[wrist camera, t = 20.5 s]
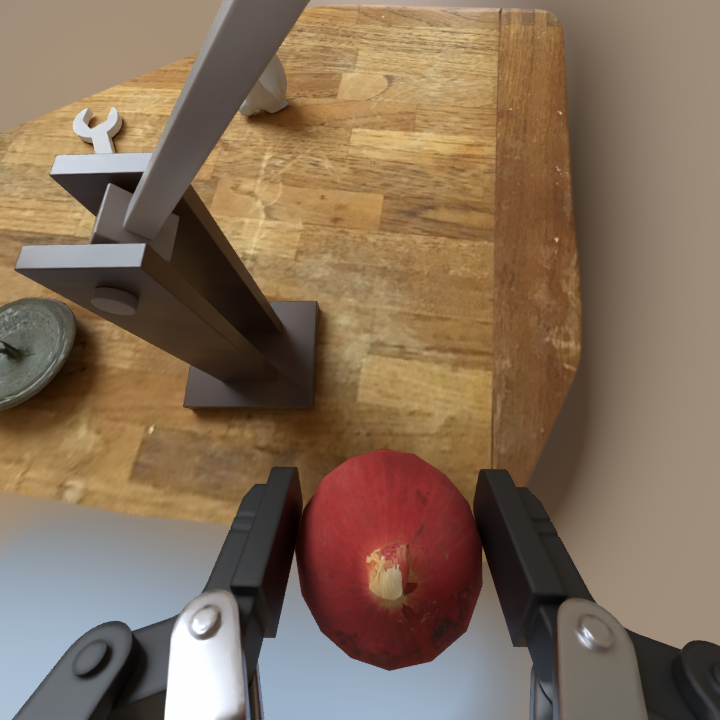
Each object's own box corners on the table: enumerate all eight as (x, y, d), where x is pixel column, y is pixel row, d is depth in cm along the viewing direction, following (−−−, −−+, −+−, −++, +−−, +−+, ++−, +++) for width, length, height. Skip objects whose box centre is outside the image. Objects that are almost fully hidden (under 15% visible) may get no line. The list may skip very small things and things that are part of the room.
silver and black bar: (505, -304, 5) (409, -685, 3) (566, -138, 3) (445, -693, 2) (165, 221, 16) (103, 192, 14) (143, 316, 14) (71, 296, 13)
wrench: (117, 104, 37) (74, 119, 37) (113, 98, 37) (69, 113, 36) (170, 279, 30) (118, 300, 29) (166, 275, 29) (112, 296, 29)
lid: (35, 439, 28) (-18, 440, 23) (-73, 376, 27) (-151, 364, 22) (124, 339, 31) (92, 321, 26) (28, 280, 30) (-22, 251, 25)
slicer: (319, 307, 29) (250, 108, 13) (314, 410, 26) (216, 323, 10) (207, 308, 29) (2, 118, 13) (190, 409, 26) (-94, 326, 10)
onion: (480, 543, 14) (613, 640, 6) (369, 637, 13) (363, 884, 5) (396, 429, 15) (418, 393, 8) (292, 506, 14) (202, 550, 7)
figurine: (305, 119, 35) (287, 27, 28) (256, 141, 35) (224, 53, 27) (274, 76, 38) (249, -19, 30) (228, 96, 37) (191, 4, 30)
